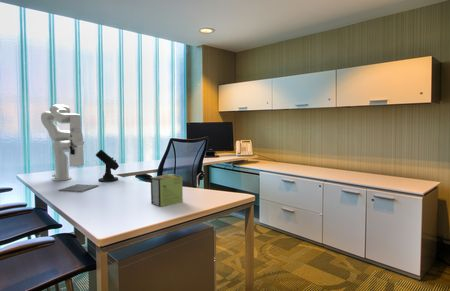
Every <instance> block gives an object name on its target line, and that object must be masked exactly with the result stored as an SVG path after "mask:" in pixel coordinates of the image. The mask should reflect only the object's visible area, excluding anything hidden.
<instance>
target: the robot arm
mask: <svg viewBox="0 0 450 291" xmlns="http://www.w3.org/2000/svg"><path fill="white" fill-rule="evenodd" d="M81 119H82V116H81V114H80V113H71V109H70V107H69V105H66V104H53V105H51V106H50V107H49V111H44V112H42V113H41V114H40V121H41V123H42V125H43V126H44V128H45V129H46V130H47V133H48V136H49V137H50V139H51V141H52V142H53V143H52V150H53V155H54V169H55V170H54V171H55V172H54V173H52V177H53V181H54V182H56V181H57V182H58V181H59V182H60V181H61V182H62V181H69V180H71V179H72V177H71V176H70V172H69V170H70V169H69V167H70V166H69V156H68V155H67V154H66V153H69V148H70V154H73V155H74V154H75V150H74V147H75V146H76V145H83V146H84V143H85V141H84V137H83V132H82V120H81ZM54 122H55V123H54ZM56 123H60V124H69V130H61V129H60V128H59V126H58V125H57V124H56ZM72 143H73V144H72ZM72 146H73V147H72Z"/></svg>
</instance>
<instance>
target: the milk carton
mask: <svg viewBox="0 0 450 291" xmlns="http://www.w3.org/2000/svg"><path fill="white" fill-rule="evenodd" d="M72 144H73V143H72ZM72 147H73V146H72ZM74 150H75V154H74V155H73V154H70V148H69V152H68V153H69V154H68V155H69V156H68V163H69V167H75V168H76V167H79V168H80V167H81V166H84V165H85V163H84V162H85V161H84V158H85V157H84V153H85V152H84V144H83V145H76V146H75V147H74Z"/></svg>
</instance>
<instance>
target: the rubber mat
mask: <svg viewBox="0 0 450 291" xmlns="http://www.w3.org/2000/svg"><path fill="white" fill-rule="evenodd" d="M99 186H100V185H98V184H82V183H81V184H79V183H78V184H73V185H70V186H67V187H63V188H60V189H58V191H59V192H72V193H73V192H74V193H84V192H87V191H89V190H92V189H95V188H97V187H99Z"/></svg>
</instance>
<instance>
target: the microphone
mask: <svg viewBox="0 0 450 291" xmlns="http://www.w3.org/2000/svg"><path fill="white" fill-rule="evenodd" d="M95 157H96V158H97V159H99V160H100V161H101V162H102V163H104V164H105V170H104V173H103V175H102V177H100V178H98V180H97V181H98V182H99V183H112V182H117V181H119V177H117V176H114V174H112V170H114V171H116V170H117V169H119V167H120V165H119V164H118V162H117V159H114V157H111V155H108V153H106V151H104V150H103V149H100V150H98V151H97V152H96V153H95Z"/></svg>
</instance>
